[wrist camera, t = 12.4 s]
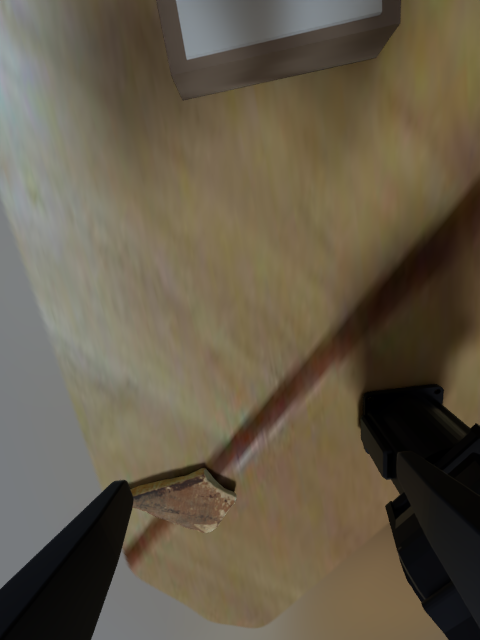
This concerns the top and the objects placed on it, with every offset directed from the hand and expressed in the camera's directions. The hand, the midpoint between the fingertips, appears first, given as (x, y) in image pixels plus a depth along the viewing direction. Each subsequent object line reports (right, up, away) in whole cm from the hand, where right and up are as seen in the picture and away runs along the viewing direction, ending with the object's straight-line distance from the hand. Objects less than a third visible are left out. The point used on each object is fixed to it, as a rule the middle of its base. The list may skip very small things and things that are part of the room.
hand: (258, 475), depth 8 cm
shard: (-7, -14, +19) cm, 25 cm away
